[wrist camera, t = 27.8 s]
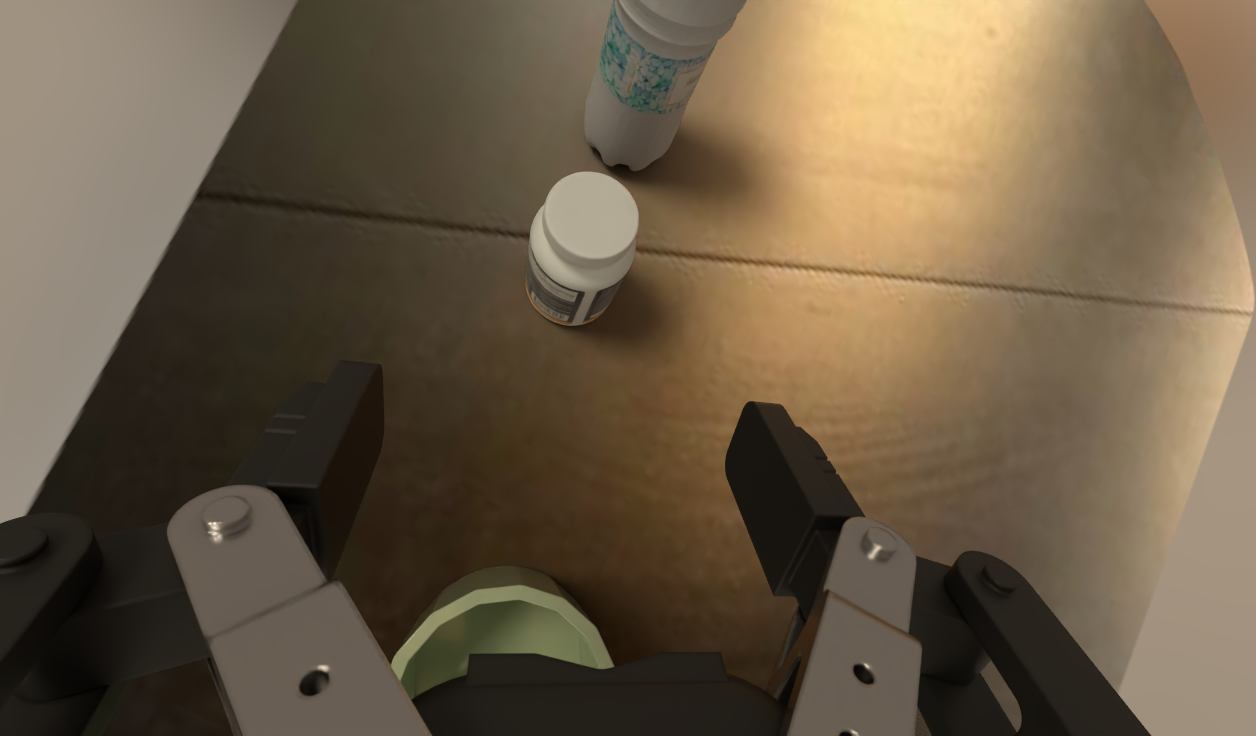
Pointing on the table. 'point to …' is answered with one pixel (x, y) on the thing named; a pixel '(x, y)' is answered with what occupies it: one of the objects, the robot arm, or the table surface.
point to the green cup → (496, 627)
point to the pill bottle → (581, 247)
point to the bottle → (650, 74)
